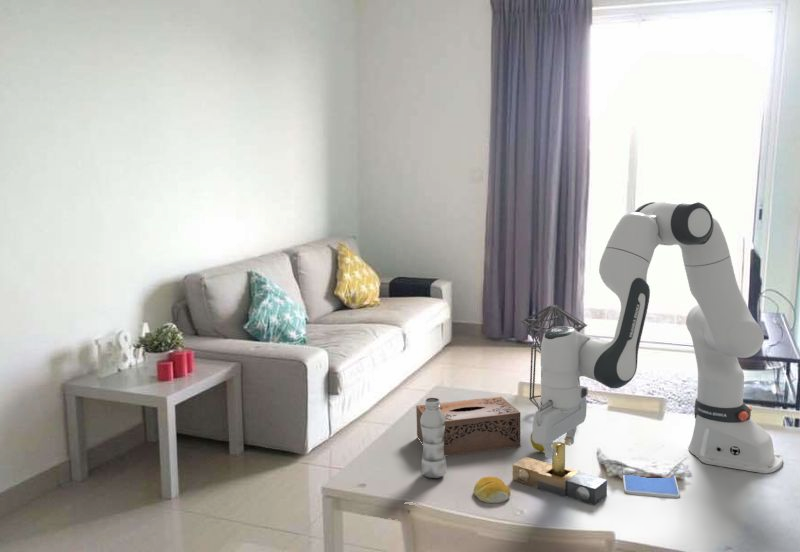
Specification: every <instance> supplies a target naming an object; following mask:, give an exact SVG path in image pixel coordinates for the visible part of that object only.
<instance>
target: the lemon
mask: <svg viewBox="0 0 800 552" xmlns="http://www.w3.org/2000/svg"><path fill="white" fill-rule="evenodd" d="M530 443H531V446H532V447H533V448H534V449H535V450H537V451H538V452H539V453H543V452H545V450H544V448H543V446H542V445H540V444H536V443H534V442H533V440H532V432H531V434H530Z"/></svg>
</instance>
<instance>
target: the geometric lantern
mask: <svg viewBox="0 0 800 552" xmlns="http://www.w3.org/2000/svg"><path fill="white" fill-rule="evenodd" d="M540 314H541V315H540ZM538 315H539V316H538ZM536 316H538V317H537V318H536V319H532V318H534V317H536ZM562 317H565V318H566V321H567V322H568V325H569V326H570V327H573V328H574V329H575V330H576V331H578V332H579V333H580V332H581V331H582V330H583V329H585V328H586V327H587V326H588V324H586V323H585V322H583V321H582V320H580V319H578V318H577V317H576V316H574V315H573V314H571V313H569V312H568V311H566V310H564V308H561V306H558V305H557V304H552V305H548V306H547V307H545V308H543V309H541V310H540V311H537V312H535V313H534V314H531V315H530V316H528V317H526V318H524V319H523V320H521V321H520V323H522V324H523V326H524V328H525V329H526V331H527V332H528V335H529V337H532V345H530V374H529V375H530V376H529V377H530V378H529V402H531V403H532V404H533V405H534V406H535V407H536V408H537V410H538V409H539V406H540V405H542V403H541V402H540V405H539V404H538V402H537V401H536V399H535V398H541V394H538V395H535V385H536V383H535V382H536V364H537V363H536V362H537V360H536V359H537V353H539V354H541V344H542V343H539V341H538V340H539V337H540V334H541V333H545V332H546V331H547V330H549V329H551V328H553V327H557V326H558V321H559V320H560V323H561V324H562V325H561V326H566V325H565V323H564V320H563V318H562ZM553 320H554V322H553V323H552V324H551V321H553ZM546 323H547V324H546ZM572 323H573V326H572ZM539 324H540V325H539ZM545 324H546V327H545ZM554 325H555V326H554ZM575 326H576V327H575ZM538 328H539V329H538ZM543 330H544V331H543ZM533 331H536V333H535V334H534V332H533ZM537 347H538V349H539V350H538V349H537ZM540 369H541V370H540V373H541V375H540V379H541V378H542V368H540ZM578 380H579V385H580V386H581V383H580V381H581V380H580V378H579V379H578Z"/></svg>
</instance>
